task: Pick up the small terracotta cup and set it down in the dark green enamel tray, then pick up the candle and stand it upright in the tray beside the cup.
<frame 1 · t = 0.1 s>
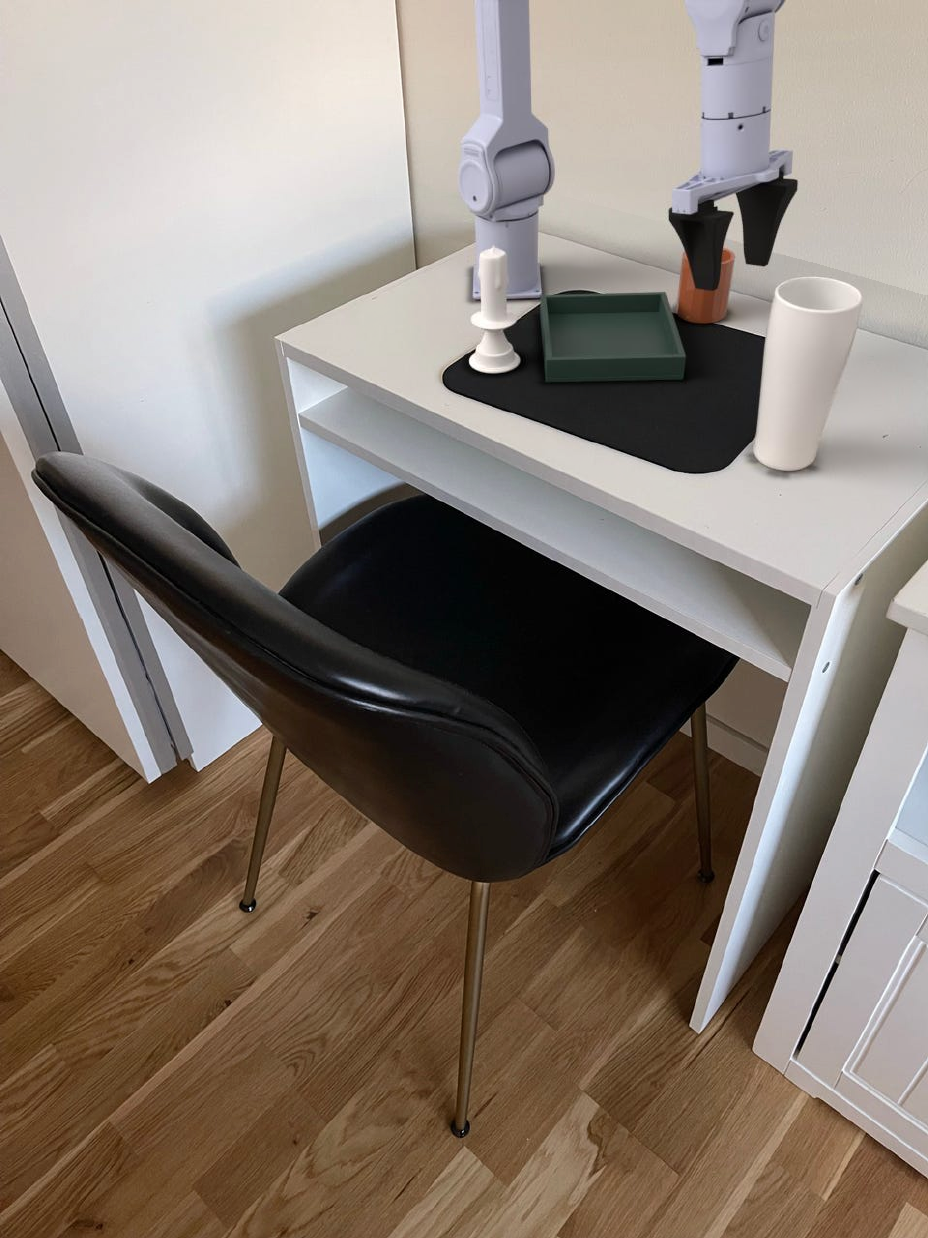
hand: (732, 276, 89), 10 cm above the table, tool pointing down, fingers open, 7 cm apart
drinking glass: (782, 459, 85), on the table
candle: (494, 363, 100), on the table
tray: (607, 346, 102), on the table
cup: (700, 312, 107), on the table
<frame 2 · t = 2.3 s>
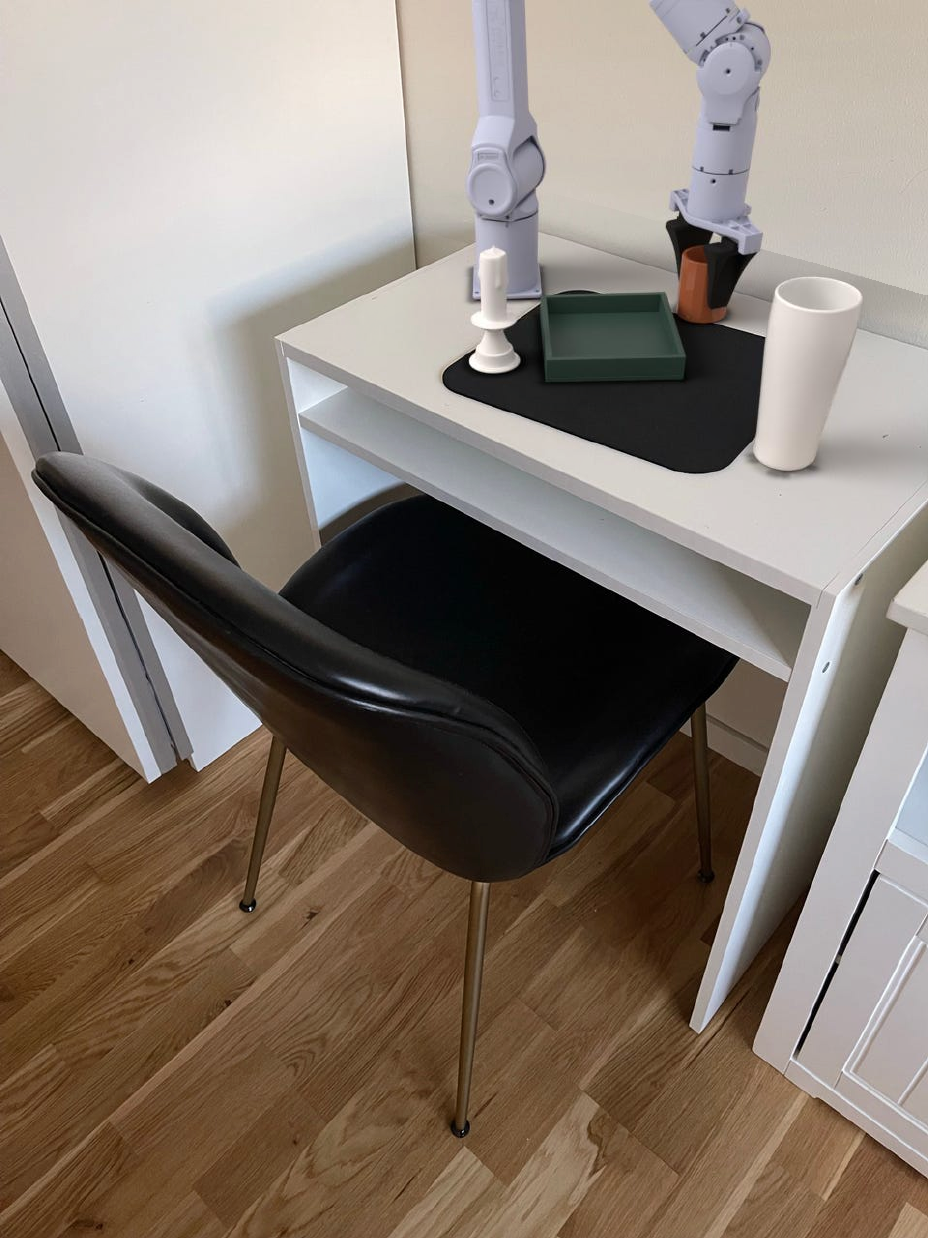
hand: (703, 296, 106), 2 cm above the table, tool pointing down, fingers closed on cup, 5 cm apart
cup: (700, 312, 107), on the table, touching gripper
everything else where it was.
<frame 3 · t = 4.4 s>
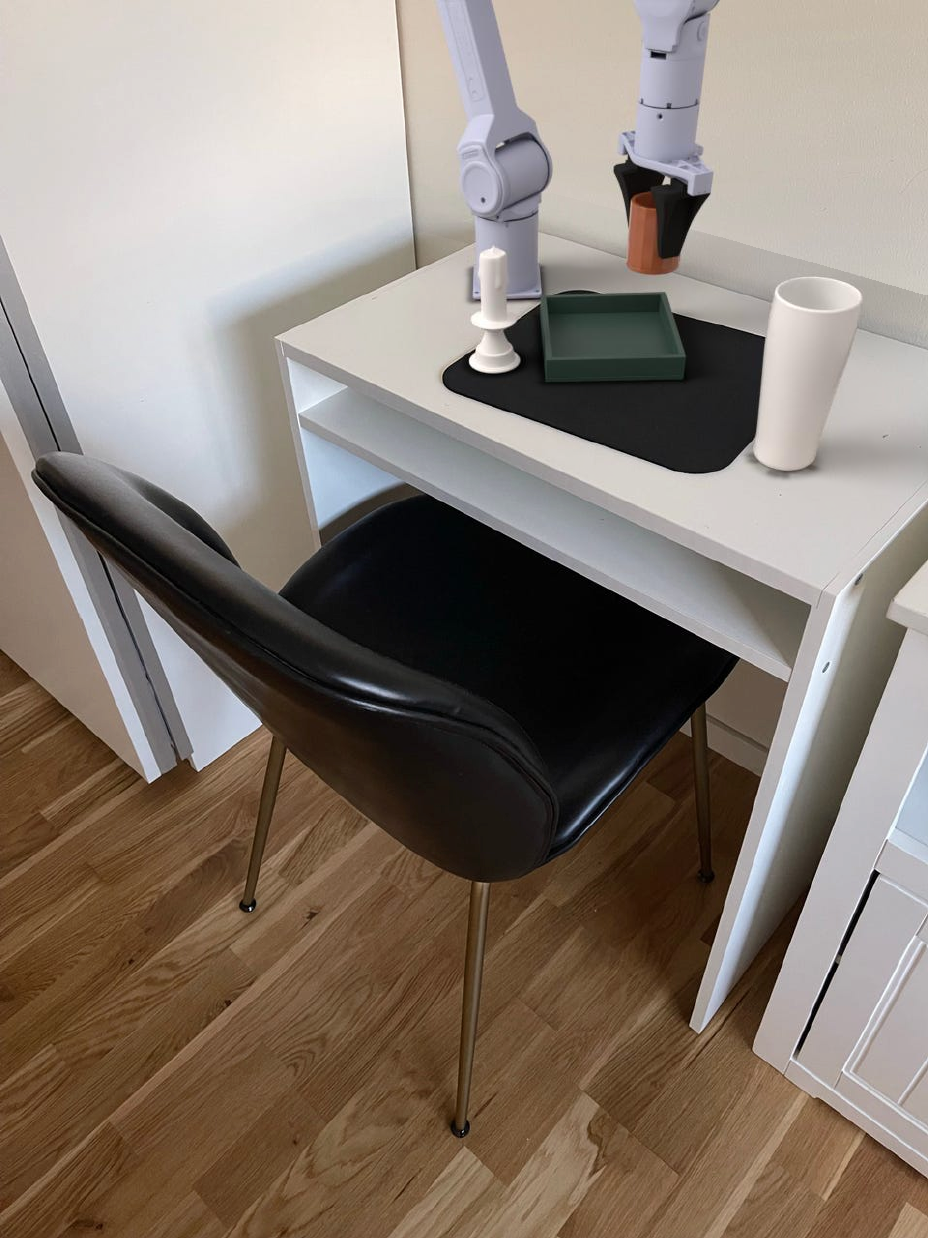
hand: (654, 246, 99), 9 cm above the table, tool pointing down, fingers closed on cup, 5 cm apart
cup: (652, 264, 100), point 7 cm above the table, touching gripper
everything else where it was.
when the fingers open (2 cm above the table, at t = 6.7 s): cup stays where it is, resting on tray.
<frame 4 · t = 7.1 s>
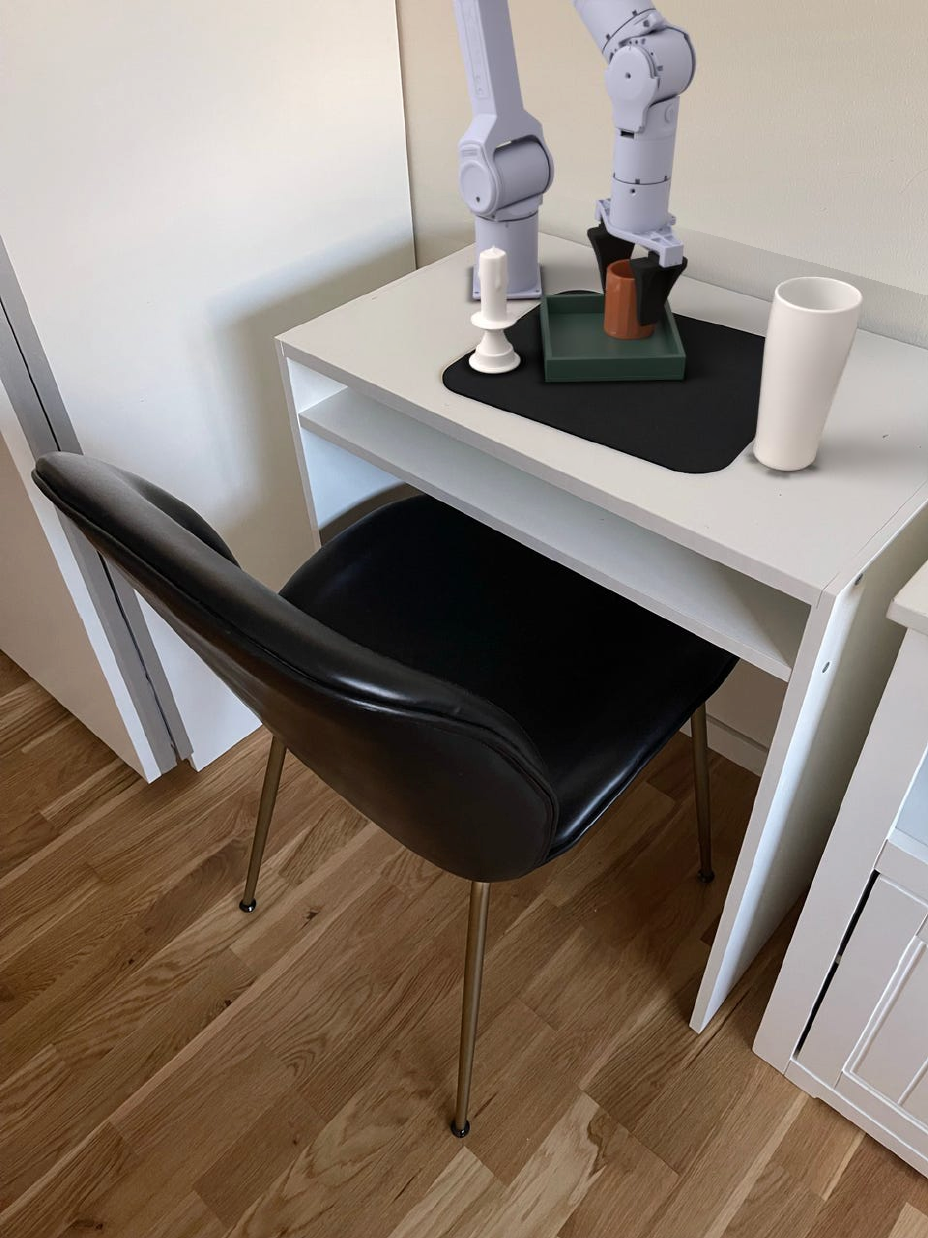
hand: (630, 309, 102), 3 cm above the table, tool pointing down, fingers open, 7 cm apart
cup: (628, 328, 104), resting on tray
everything else where it was.
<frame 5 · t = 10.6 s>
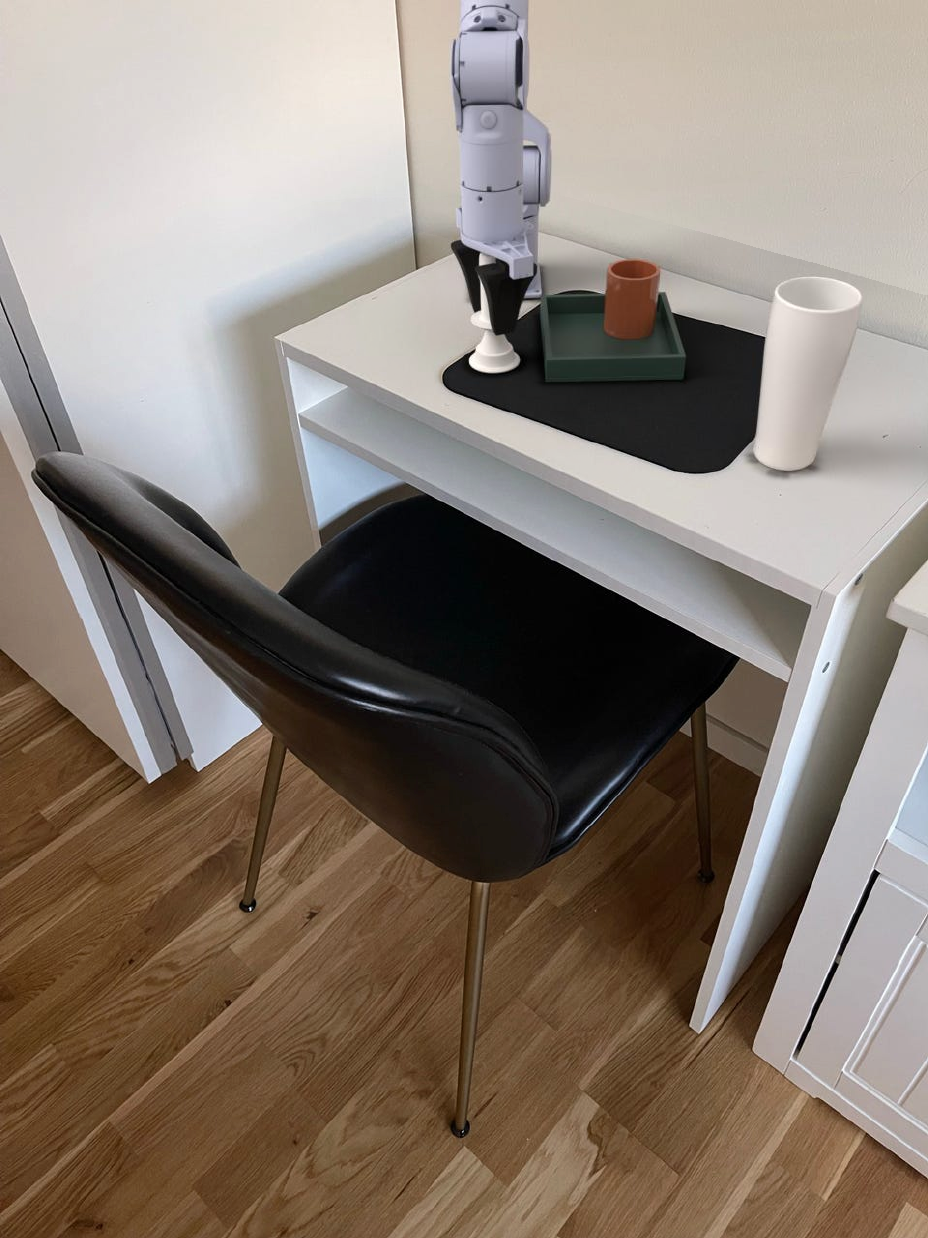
hand: (494, 322, 97), 4 cm above the table, tool pointing down, fingers closed on candle, 5 cm apart
candle: (494, 363, 100), on the table, touching gripper
everything else where it was.
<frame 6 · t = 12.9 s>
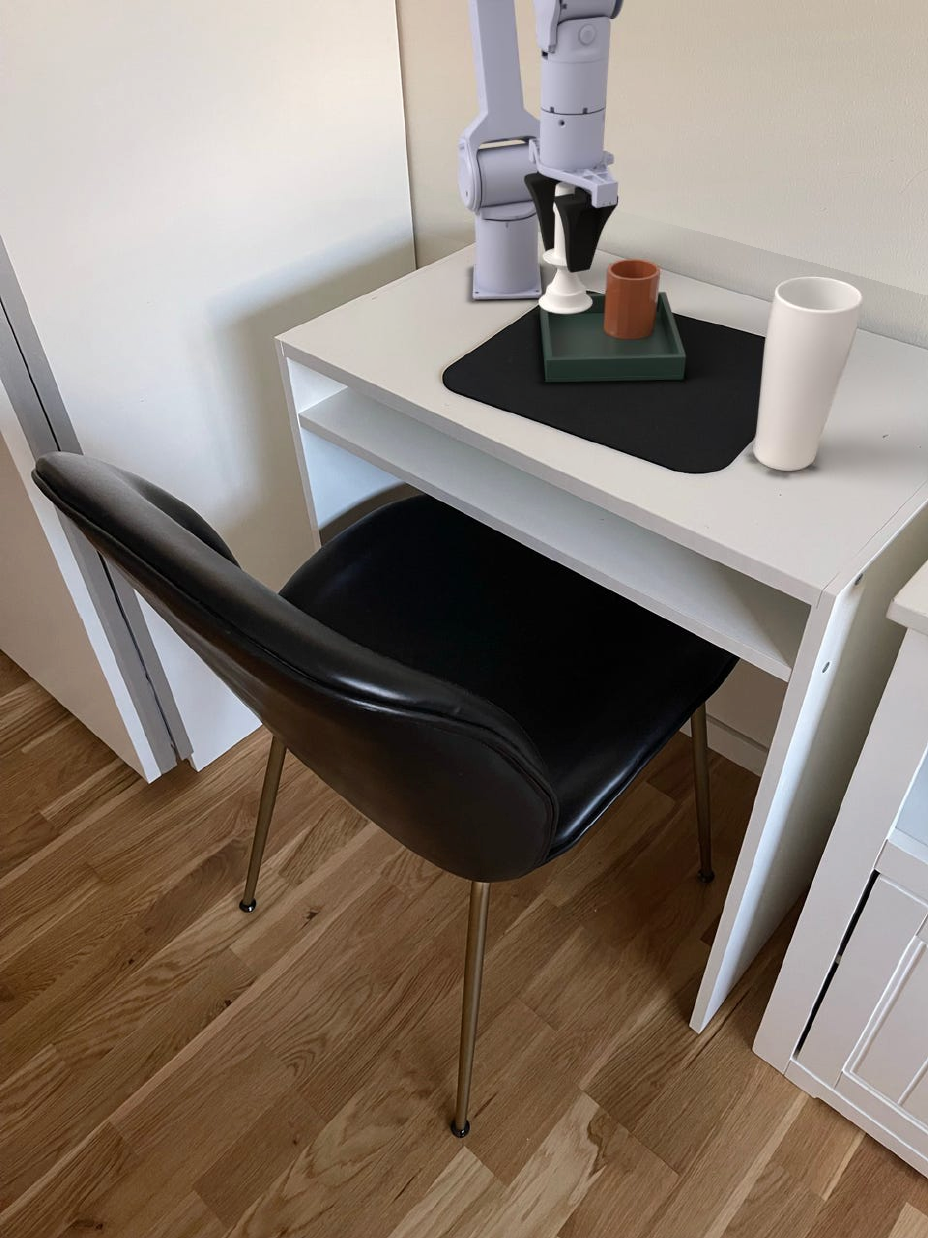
hand: (567, 259, 93), 10 cm above the table, tool pointing down, fingers closed on candle, 5 cm apart
candle: (565, 305, 96), point 6 cm above the table, touching gripper
everything else where it was.
when the fingers open (5 cm above the table, at t = 15.2 s): candle stays where it is, resting on tray.
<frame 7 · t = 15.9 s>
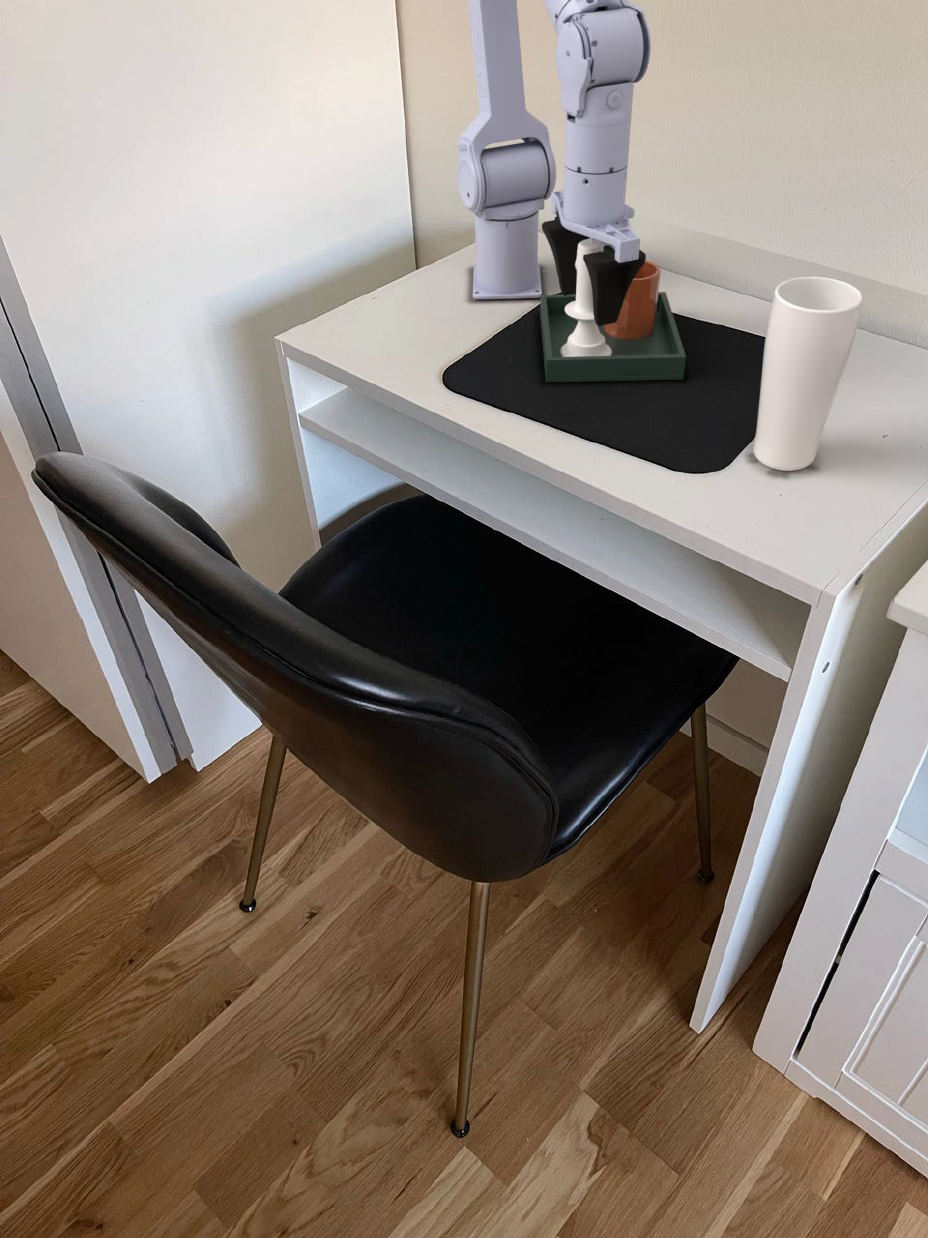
hand: (588, 307, 96), 5 cm above the table, tool pointing down, fingers open, 7 cm apart
candle: (585, 354, 100), resting on tray
everything else where it was.
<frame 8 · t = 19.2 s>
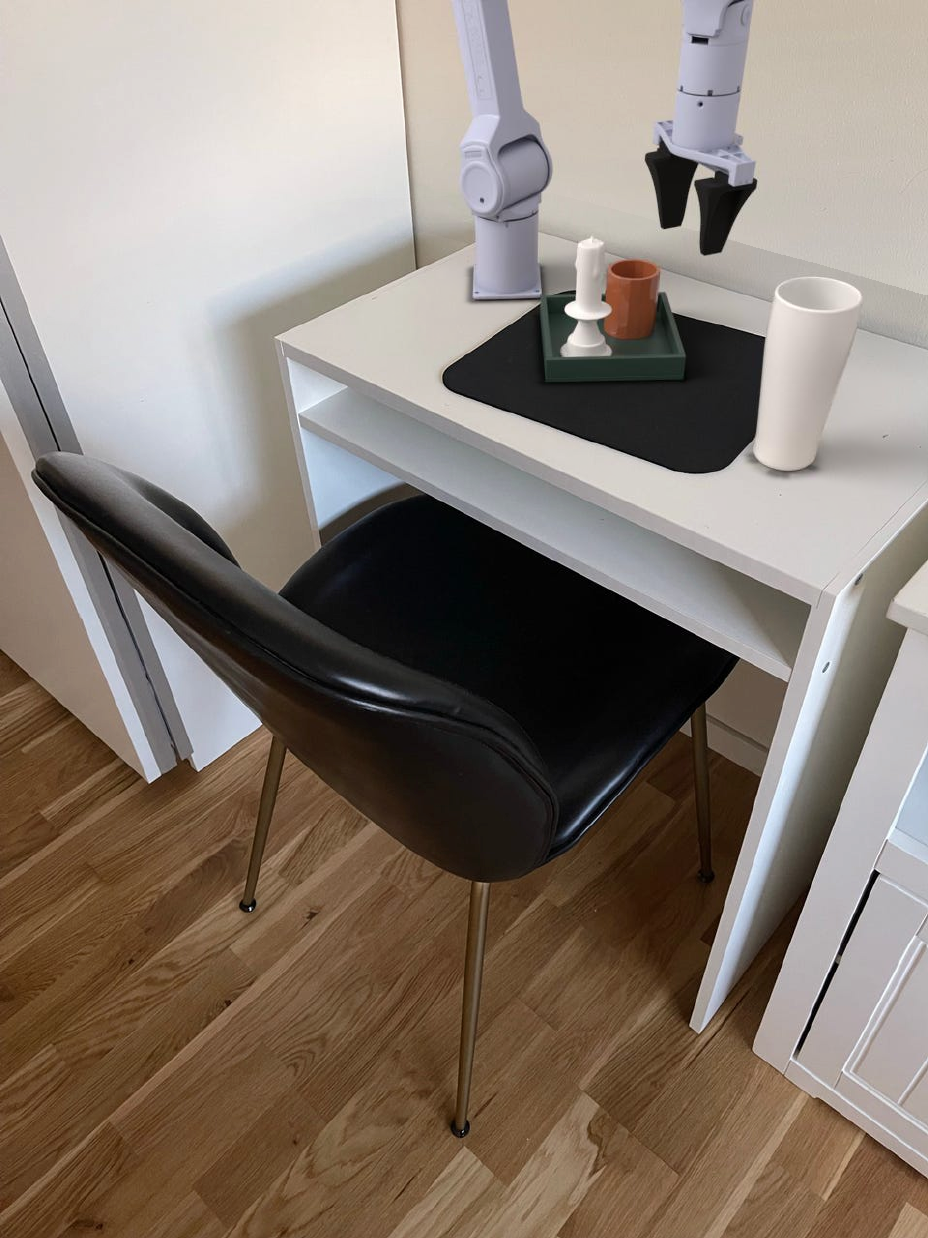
hand: (690, 239, 96), 10 cm above the table, tool pointing down, fingers open, 7 cm apart
nothing on the table moved.
at the end: cup inside the target area in the tray (3.9 cm from its centre), point 0.5 cm above the tray's base; candle inside the target area in the tray (3.5 cm from its centre), point 0.3 cm above the tray's base; candle tilted 0° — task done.
